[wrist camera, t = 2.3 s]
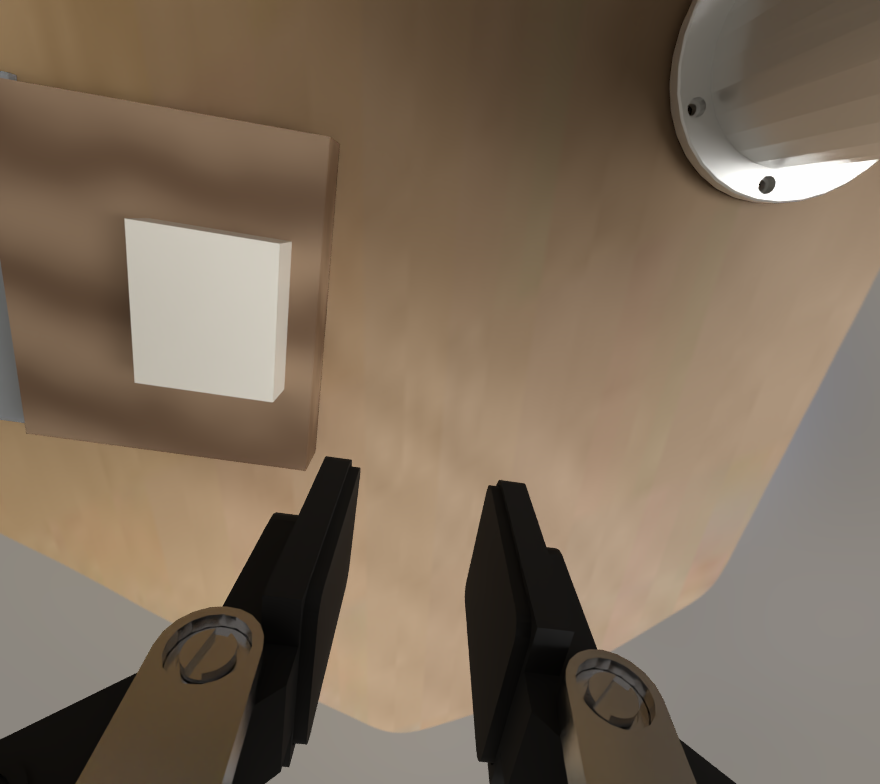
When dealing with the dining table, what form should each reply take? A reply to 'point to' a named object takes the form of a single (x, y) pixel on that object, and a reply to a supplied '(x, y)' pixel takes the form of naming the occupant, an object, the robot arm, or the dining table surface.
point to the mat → (8, 352)
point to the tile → (208, 308)
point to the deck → (106, 275)
